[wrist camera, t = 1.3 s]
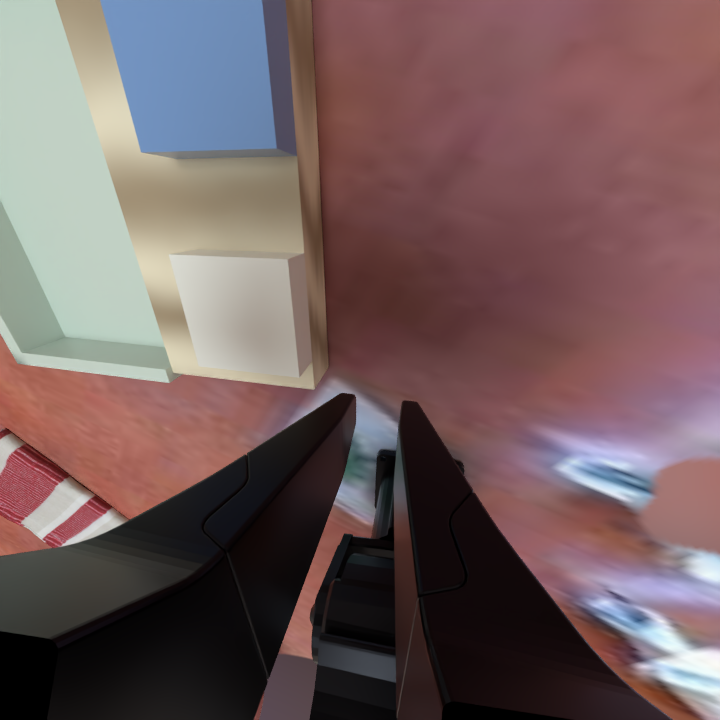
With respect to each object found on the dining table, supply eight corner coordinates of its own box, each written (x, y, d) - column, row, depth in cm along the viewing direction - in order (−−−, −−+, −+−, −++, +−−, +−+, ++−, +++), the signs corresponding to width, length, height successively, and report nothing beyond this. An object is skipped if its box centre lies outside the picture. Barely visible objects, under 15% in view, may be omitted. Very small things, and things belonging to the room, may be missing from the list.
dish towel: (123, 574, 46) (107, 593, 44) (-19, 475, 41) (-46, 491, 39) (175, 547, 39) (159, 569, 37) (12, 422, 34) (-19, 438, 31)
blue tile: (297, 156, 13) (276, 148, 11) (176, 159, 14) (140, 152, 12) (281, -53, 10) (251, -106, 9) (134, -30, 11) (80, -73, 10)
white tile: (312, 360, 18) (299, 377, 16) (220, 351, 19) (198, 366, 17) (304, 253, 15) (287, 259, 13) (197, 249, 16) (168, 254, 14)
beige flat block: (328, 367, 21) (314, 389, 19) (202, 353, 23) (173, 372, 20) (308, -72, 12) (274, -150, 9) (101, -38, 14) (24, -96, 11)
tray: (204, 359, 23) (169, 382, 20) (67, 344, 25) (17, 363, 22) (97, -55, 14) (1, -131, 11) (-106, -19, 16) (-234, -73, 13)
